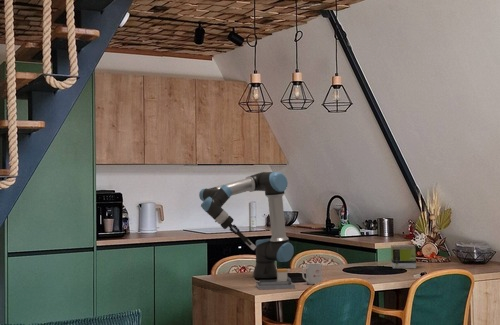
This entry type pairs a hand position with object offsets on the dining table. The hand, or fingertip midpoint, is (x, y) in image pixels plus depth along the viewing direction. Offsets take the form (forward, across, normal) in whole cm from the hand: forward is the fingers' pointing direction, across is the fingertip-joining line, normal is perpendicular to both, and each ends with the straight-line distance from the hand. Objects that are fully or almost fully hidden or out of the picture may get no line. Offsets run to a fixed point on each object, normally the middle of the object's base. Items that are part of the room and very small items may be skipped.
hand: (254, 248), depth 387 cm
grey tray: (+23, 0, -8) cm, 25 cm away
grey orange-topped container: (+25, 0, -4) cm, 25 cm away
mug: (+39, -6, +7) cm, 40 cm away
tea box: (+92, -58, +58) cm, 123 cm away
